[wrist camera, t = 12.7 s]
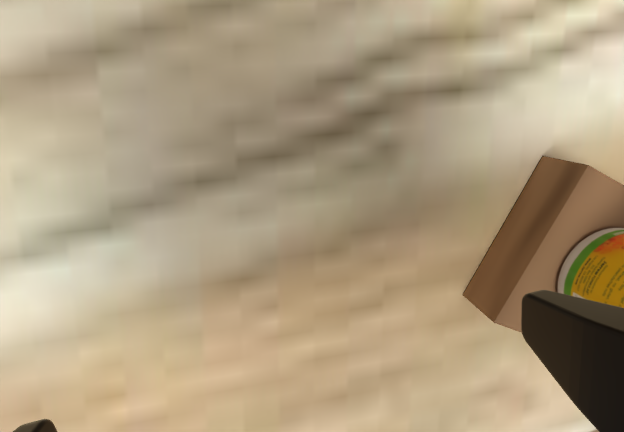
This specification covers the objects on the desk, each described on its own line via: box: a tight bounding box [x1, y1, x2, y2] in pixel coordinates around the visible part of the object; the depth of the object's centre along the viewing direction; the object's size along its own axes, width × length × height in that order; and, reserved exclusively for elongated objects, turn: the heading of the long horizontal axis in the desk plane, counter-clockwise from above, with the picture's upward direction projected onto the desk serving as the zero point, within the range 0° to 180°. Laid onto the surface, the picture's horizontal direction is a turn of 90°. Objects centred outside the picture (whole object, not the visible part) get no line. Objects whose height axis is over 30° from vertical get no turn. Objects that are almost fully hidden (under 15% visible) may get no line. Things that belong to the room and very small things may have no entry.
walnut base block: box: [463, 156, 624, 332], centre depth 23 cm, size 9×9×3 cm
